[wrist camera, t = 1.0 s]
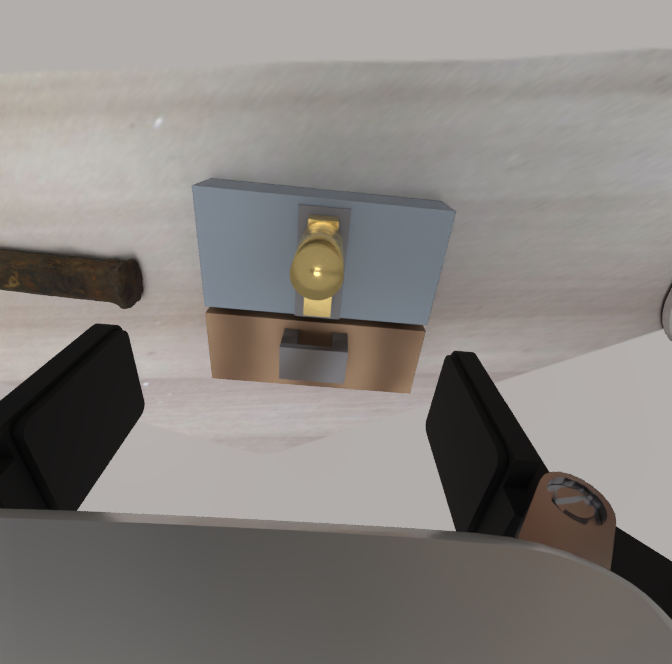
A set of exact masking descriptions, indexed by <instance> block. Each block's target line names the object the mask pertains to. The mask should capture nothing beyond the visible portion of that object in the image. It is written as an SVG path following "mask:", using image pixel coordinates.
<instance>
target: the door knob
mask: <svg viewBox="0 0 672 664" xmlns="http://www.w3.org/2000/svg"><path fill="white" fill-rule="evenodd" d="M338 227H339V217H333V216H323V215H312V214H310V215H309V218H308V227H307V228H306V229H305V231H304V232H303V234H302V237H301V240H300V242H299V245H298V248H297V251H296V254H295V256H294V259H293V262H292V265H291V268H290V280H291V283H292V286H293V287H294V289H295V290H296V291H297V292H298V293H299V294H300V295H301V296H303V297H304V309H303V315H307V316H318V317H330V312H331V302H332V296H333V295H335V294H336V293H337V292H338V291H339V289H340V288H341V286H342V283H343V279H344V265H343V239H342V236H341V233H340V232H339V230H338Z"/></svg>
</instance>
